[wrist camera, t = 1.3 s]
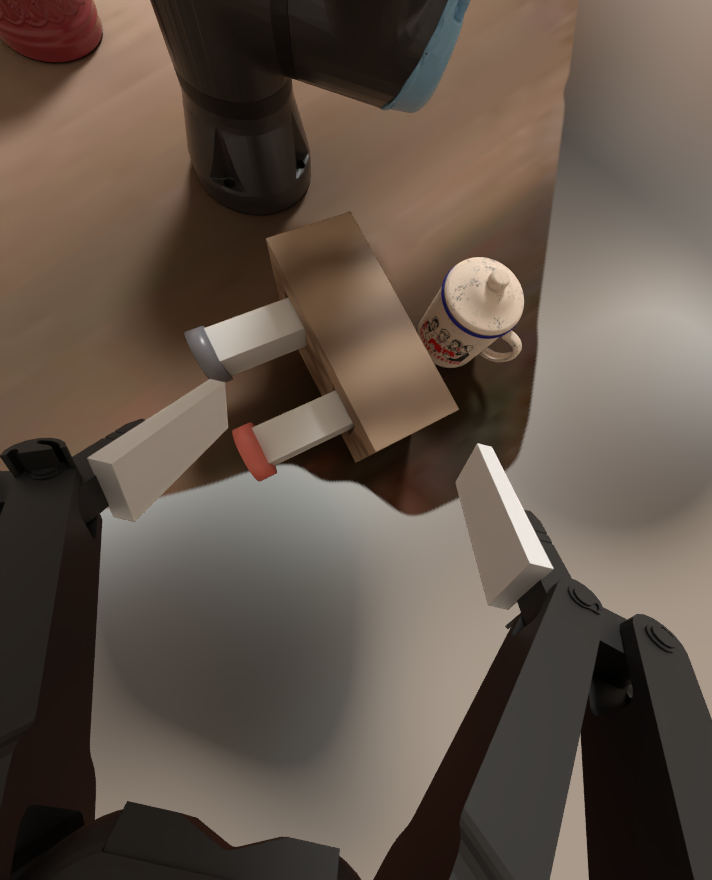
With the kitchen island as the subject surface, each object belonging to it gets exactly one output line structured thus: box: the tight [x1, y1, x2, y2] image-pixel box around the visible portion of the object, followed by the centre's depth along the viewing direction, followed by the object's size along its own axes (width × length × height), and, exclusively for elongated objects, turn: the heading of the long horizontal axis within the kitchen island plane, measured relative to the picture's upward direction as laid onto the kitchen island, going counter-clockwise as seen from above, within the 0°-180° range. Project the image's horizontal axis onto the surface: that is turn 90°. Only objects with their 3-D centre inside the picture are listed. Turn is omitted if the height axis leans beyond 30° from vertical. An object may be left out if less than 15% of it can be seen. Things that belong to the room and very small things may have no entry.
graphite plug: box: [184, 298, 307, 383], centre depth 27 cm, size 5×13×5 cm, turn 117°
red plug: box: [232, 390, 355, 481], centre depth 26 cm, size 5×13×5 cm, turn 117°
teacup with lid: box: [417, 257, 524, 368], centre depth 32 cm, size 12×9×12 cm
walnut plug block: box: [266, 212, 459, 463], centre depth 29 cm, size 20×8×12 cm, turn 27°
